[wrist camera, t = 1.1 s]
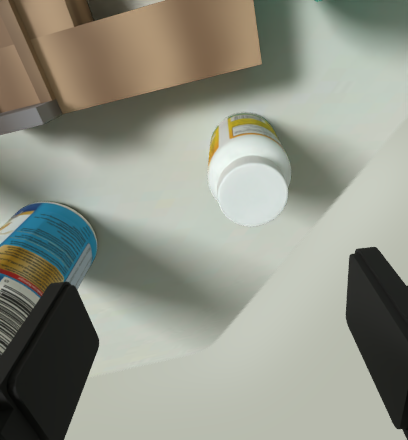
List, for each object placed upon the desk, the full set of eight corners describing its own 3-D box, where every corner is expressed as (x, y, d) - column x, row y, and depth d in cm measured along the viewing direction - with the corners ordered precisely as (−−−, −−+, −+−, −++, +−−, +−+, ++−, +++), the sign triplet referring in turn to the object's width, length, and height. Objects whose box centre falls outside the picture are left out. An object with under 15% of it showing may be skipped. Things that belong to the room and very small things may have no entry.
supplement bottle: (251, 96, 25) (268, 129, 17) (288, 151, 27) (320, 204, 19) (195, 139, 27) (186, 187, 18) (234, 187, 29) (241, 251, 20)
